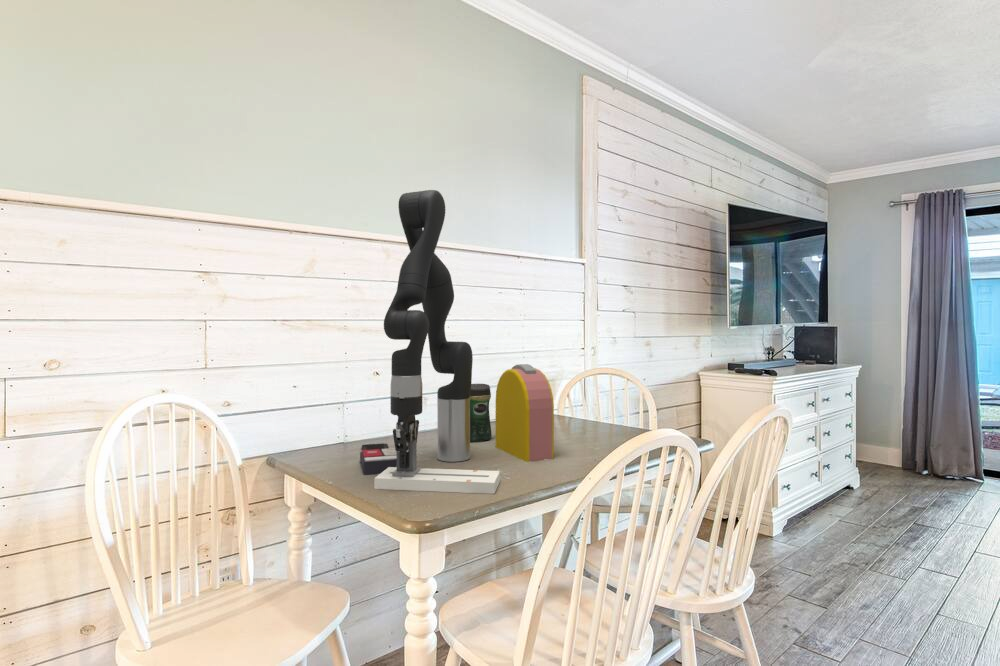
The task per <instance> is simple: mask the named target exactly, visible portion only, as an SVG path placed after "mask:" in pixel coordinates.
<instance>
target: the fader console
mask: <svg viewBox="0 0 1000 666" xmlns="http://www.w3.org/2000/svg"><path fill="white" fill-rule="evenodd" d="M396 469H397V467H388V468H387V469H386V470H384V471H383V472H382V473H381V474H377V476H375V477H374V479H373V480H374V483H373V484H374V490H390V491H392V490H394V491H413V492H414V491H415V492H416V491H419V492H437V493H438V492H439V493H440V492H441V493H442V492H443V493H460V494H461V493H465V494H484V495H485V494H489V495H495V493H496V492H497V488H498V486H499V484H500V482H501V471H500V470H483V469H481V470H479V469H454V468H453V469H451V468H450V469H449V468H448V469H447V468H423V467H422V468H421V467H420V471H419V472H418V473H417V474H416V475H415V476H414V477H400V476H392V473H393V472H394V471H395V470H396Z"/></svg>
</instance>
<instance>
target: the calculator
mask: <svg viewBox="0 0 1000 666" xmlns="http://www.w3.org/2000/svg"><path fill="white" fill-rule="evenodd" d="M359 461H360V466H361V469H362V475H363V476H371V475H379V474H381V473H382V472H383V471H384V470H386V469H387V468H388V467H397V451H396V450H395V447H393V448H389V449H381V451H380V450H379V449H374V450H362V449H361V451H360V453H359Z"/></svg>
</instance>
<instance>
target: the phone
mask: <svg viewBox="0 0 1000 666" xmlns="http://www.w3.org/2000/svg"><path fill="white" fill-rule="evenodd" d="M374 449H379V450H380V451H381V449H389V444H388V443H369V444H362V445H361V451H362V450H374Z"/></svg>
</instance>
